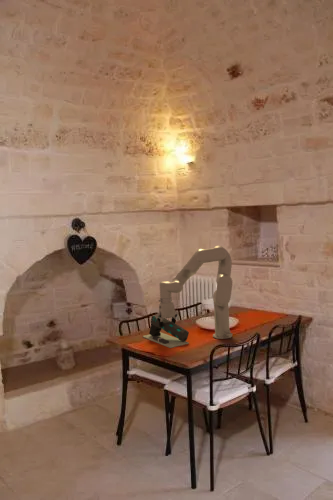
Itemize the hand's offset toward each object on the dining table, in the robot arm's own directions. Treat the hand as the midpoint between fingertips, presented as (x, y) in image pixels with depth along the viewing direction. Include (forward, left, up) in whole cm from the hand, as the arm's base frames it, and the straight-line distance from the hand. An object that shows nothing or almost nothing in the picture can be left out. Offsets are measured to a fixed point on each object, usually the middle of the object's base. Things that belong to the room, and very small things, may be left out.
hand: (167, 326), depth 316 cm
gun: (-1, 0, -8) cm, 9 cm away
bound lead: (-2, +7, -8) cm, 11 cm away
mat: (0, +3, -9) cm, 9 cm away
